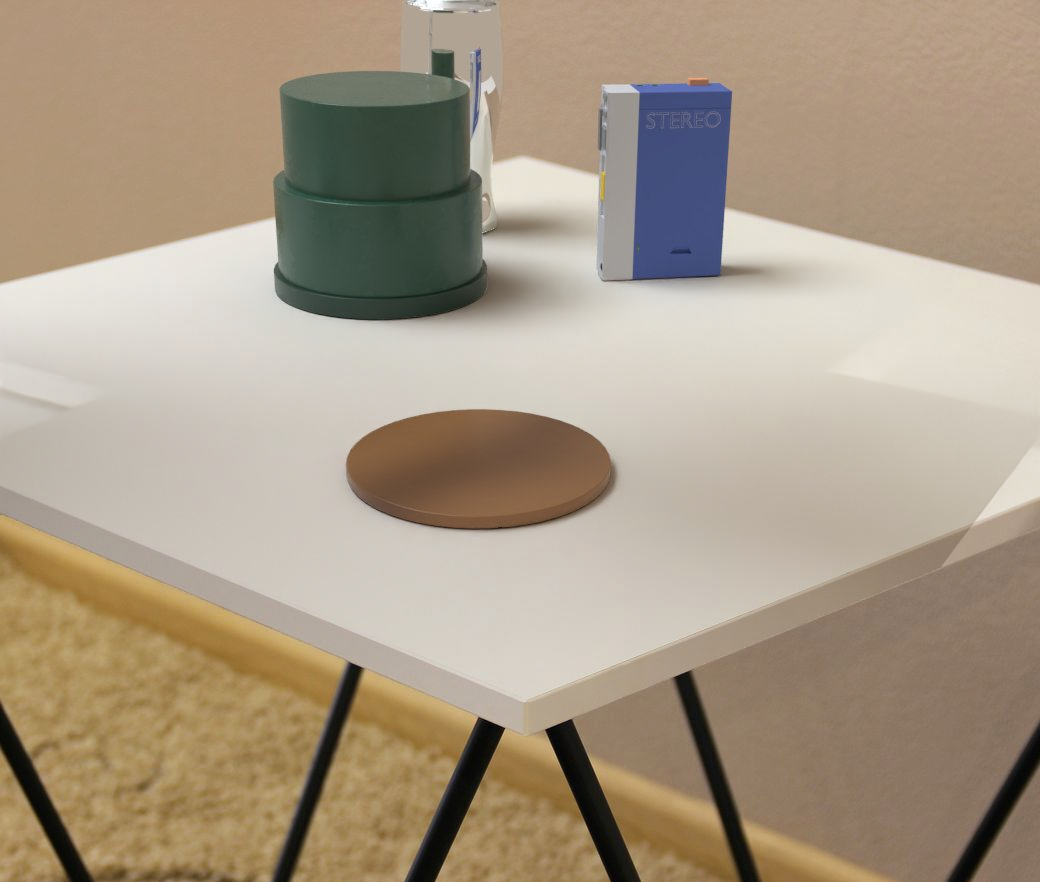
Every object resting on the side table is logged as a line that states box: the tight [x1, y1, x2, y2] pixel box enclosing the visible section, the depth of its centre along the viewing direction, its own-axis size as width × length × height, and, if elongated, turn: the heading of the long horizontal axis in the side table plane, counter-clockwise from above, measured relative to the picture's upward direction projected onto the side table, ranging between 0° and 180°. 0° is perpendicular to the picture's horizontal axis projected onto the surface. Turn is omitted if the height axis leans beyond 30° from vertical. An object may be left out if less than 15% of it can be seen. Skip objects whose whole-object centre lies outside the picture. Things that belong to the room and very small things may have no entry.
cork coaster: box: [345, 408, 612, 529], centre depth 69 cm, size 12×12×1 cm
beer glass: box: [399, 0, 505, 232], centre depth 104 cm, size 7×7×15 cm
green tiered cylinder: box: [272, 70, 489, 320], centre depth 91 cm, size 13×13×12 cm
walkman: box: [596, 77, 733, 281], centre depth 95 cm, size 8×3×12 cm, turn 102°
